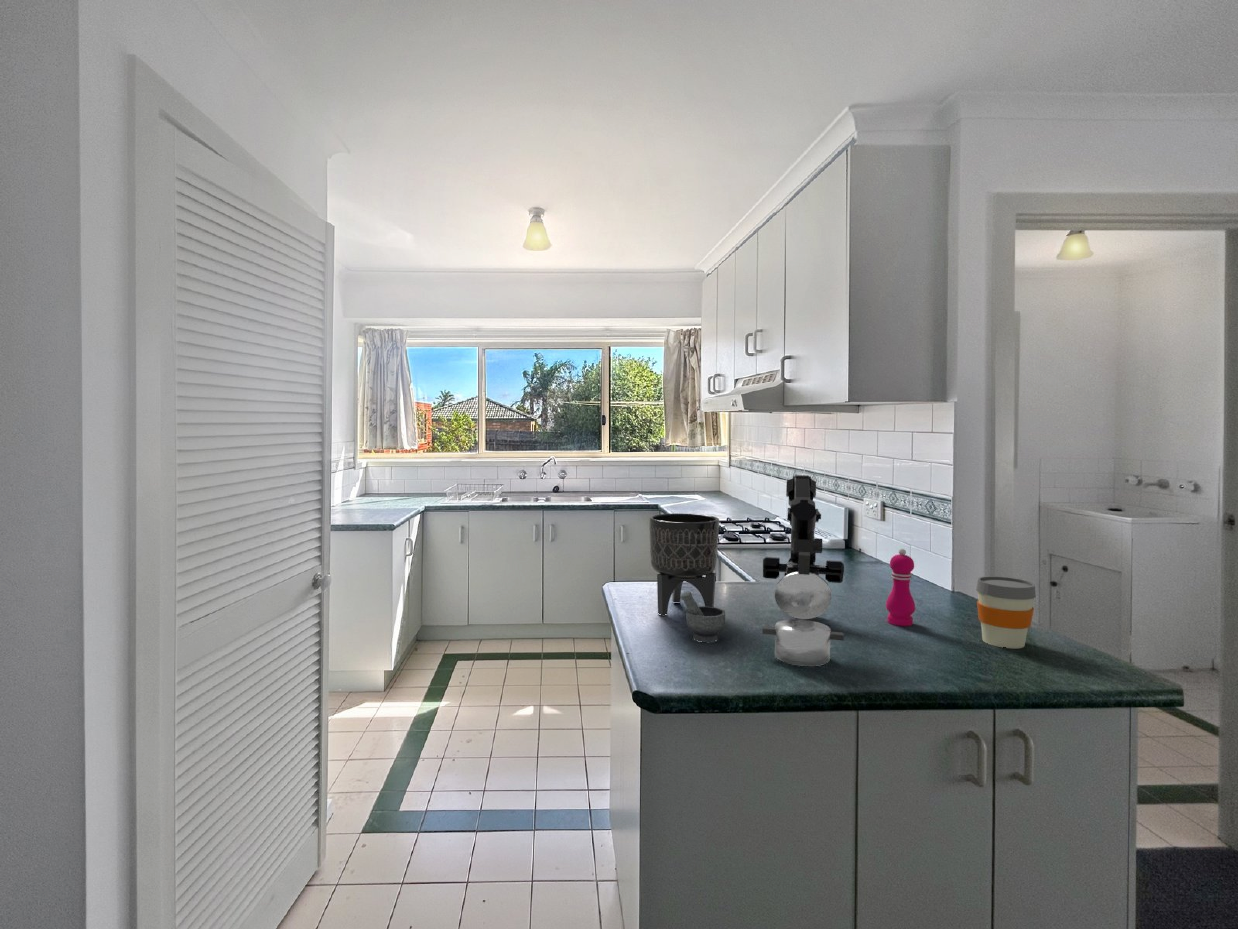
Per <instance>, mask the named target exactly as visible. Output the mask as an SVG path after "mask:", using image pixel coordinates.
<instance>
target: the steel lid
mask: <svg viewBox="0 0 1238 929" xmlns="http://www.w3.org/2000/svg"><path fill="white" fill-rule="evenodd" d="M809 569H810V552H799V564H798V572H793V573H790V574H788V575H786V576H783V577H782V578H780V579H779V581H778V582H777V584H776V586H775V588H774V599H775V602H776V605H777V606H778V608H779V609H780V610H781V611H782V612H783V613H784V614H785V615H787V616H789V617H792V618H795V619H799V620H809V619H810V620H811V619H814V618H817V617H819V616H821V615H823V614H825V612H827V610H829V608H830V606H831V603H832V591H831V588H830V586H829V584H828V583H827V580H826V579H825V578H822V577H821V576H820V575H819V576H818V575H816V574H813V573H810V572H809Z"/></svg>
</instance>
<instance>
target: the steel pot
mask: <svg viewBox="0 0 1238 929" xmlns="http://www.w3.org/2000/svg"><path fill="white" fill-rule="evenodd" d="M761 632H762V634H763V635H771V636H774V658H776V657H777V659H776V660H778V659H779V660H780V661H779V660H778V661H779V662H781V661H784V662H786V663H789V664H796V665H803V666H816V665H821V664H826V663H828V662H829V661H830V660H831V658H830V657H831V655H830V654H831V640H832V641H833V640H834V641H843V642H844V641H845V634H844V632H841V631H840V632H839V631H831V628H830V626H828V625H826V624H825V623H821V622H818V621H814V620H809V619H798V618H795V619H783V620H780V621H777V622H776V623H775V625H774V626H767V625H764V626H762V631H761ZM786 663H785V664H786ZM829 663H830V662H829ZM829 663H828V664H829ZM789 664H788V665H789ZM826 665H827V664H826Z"/></svg>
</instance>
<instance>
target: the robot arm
mask: <svg viewBox="0 0 1238 929" xmlns="http://www.w3.org/2000/svg"><path fill="white" fill-rule="evenodd" d="M785 487H786V488H785V489H786V491H785V492H786V494H785V497H787V498H788V506H789V507H787V515H786V516H787V518H786V520H787V522H789V525H790V526H791V529H790V558H788V561H787V563H781V562H780V560H781V557H776V556H775V557H773V556H772V557H771V556H765V557H764V558H763V559H762V577H763V578H765V579H772V580H776V579H778V578H779V577H780V573H784V574H783V575H784V576H786V575H788V574H790V573H793V572H798V564H799V552H810V569H809V572H810V573H813V574H816V575H818V576H820V575H824V576H825V578H824V580H825V581H826V582H828V583H832V584H836V583H837V584H840V583H843V580H844V575H845V564H844V562H843V561H842V560H827V559H826V563H825V565H823V564H821V565H820V564H818V565H816V561H817V560H816V555H817V554H822V553H823V538H815V529H816V523H819V521H820V520H822V514H821V513H820V511H819V509H818V508H816V501H815V500H814V499H815V498H816V497H817V482H816V480H813V479H812V476H811V475H800V474H795V475H793V476H792V478H790V479H788V480H786V486H785ZM784 576H783V577H784Z"/></svg>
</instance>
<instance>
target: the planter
mask: <svg viewBox="0 0 1238 929" xmlns="http://www.w3.org/2000/svg"><path fill="white" fill-rule="evenodd" d="M648 520H649V524H648V525H649V551H650V552H649V553H650V566H651V569H652V570H653V571H654V572H656V573H657V575H656V581H657V582H656V590H657V592H656V593H657V614H658V613H659V614H661V615H665V614H667V615H668V611H669V610H668V609H669V603H670V600H671V598H672V601H673V602H680V603H681V600H682V599H681V595H682V588H683V583H684V582H685V583H689V584H690V585H692V586H693V587H694V588H696V589H697V591H698V592H699V593H700V595H701V597H702V599H703V604H704V606H708V607H715V592H716V591H715V590H716V580H717V579H716V577H717V576H716V574H717V573H716V572H715V571H716V569H717V565H718V564H717V562H718V561H717V560H718V550H719V548H718V546H719V535H720V534H719V531H720V519H719V518H718V517H717V516H713V515H708V514H701V513H700V514H699V513H683V512H682V513H680V512H679V513H678V512H677V513H673V512H672V513H661V514H653V515H651V516H649V518H648Z"/></svg>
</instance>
